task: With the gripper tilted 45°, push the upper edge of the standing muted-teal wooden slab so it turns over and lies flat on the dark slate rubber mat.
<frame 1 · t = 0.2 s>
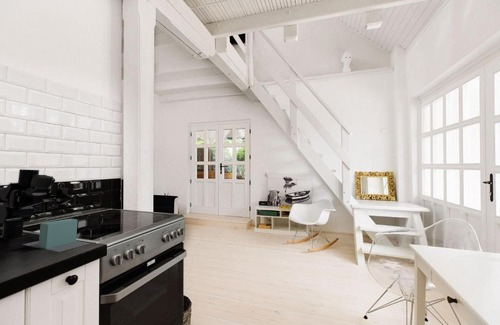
hand: (57, 199, 85), 16 cm above the kitchen counter, tool horizontal, fingers open, 9 cm apart
teal block: (58, 244, 82), point 1 cm above the kitchen counter, touching slate mat
slate mat: (57, 246, 82), on the kitchen counter
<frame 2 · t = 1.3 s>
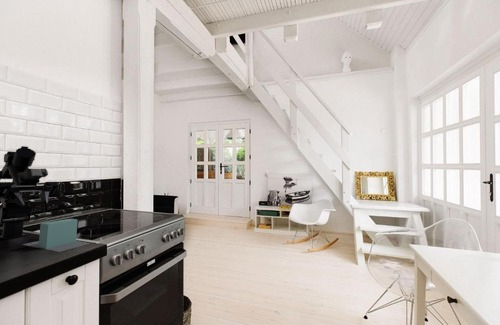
hand: (35, 205, 88), 14 cm above the kitchen counter, tool tilted 45°, fingers open, 7 cm apart
nothing on the kitchen counter moved.
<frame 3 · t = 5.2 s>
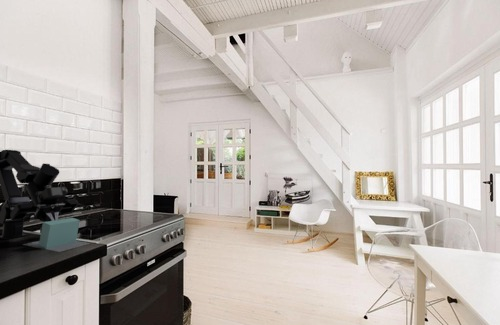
hand: (56, 226, 83), 7 cm above the kitchen counter, tool tilted 45°, fingers closed
teal block: (58, 243, 82), point 1 cm above the kitchen counter, tilted 8°, touching slate mat
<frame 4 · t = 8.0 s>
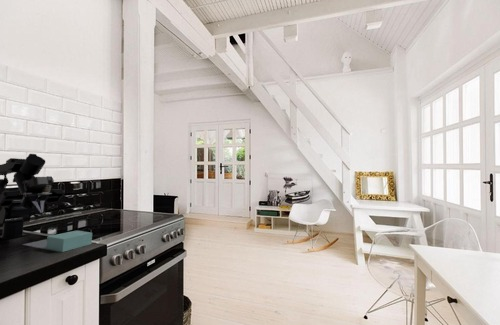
hand: (41, 214, 86), 11 cm above the kitchen counter, tool tilted 45°, fingers closed
teal block: (62, 239, 81), point 3 cm above the kitchen counter, tilted 90°, touching slate mat
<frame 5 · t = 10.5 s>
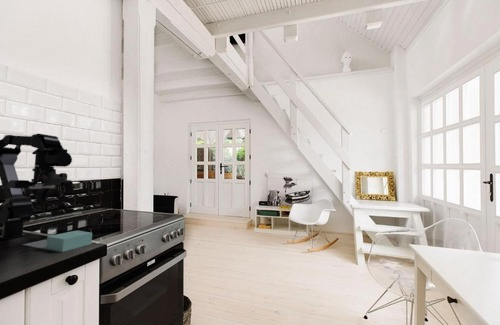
hand: (41, 206, 90), 13 cm above the kitchen counter, tool pointing down, fingers closed
nothing on the kitchen counter moved.
at the end: teal block tilted 90°; teal block inside the target area (3.5 cm from its centre), point 2.8 cm above the kitchen counter; teal block touching slate mat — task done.
